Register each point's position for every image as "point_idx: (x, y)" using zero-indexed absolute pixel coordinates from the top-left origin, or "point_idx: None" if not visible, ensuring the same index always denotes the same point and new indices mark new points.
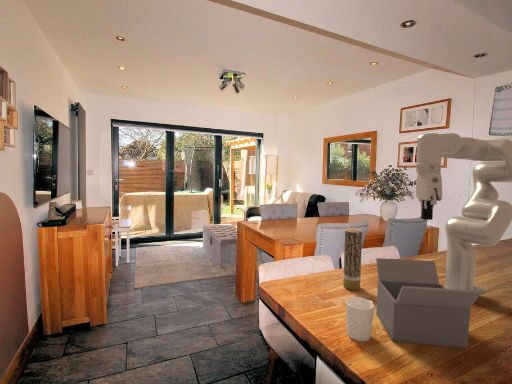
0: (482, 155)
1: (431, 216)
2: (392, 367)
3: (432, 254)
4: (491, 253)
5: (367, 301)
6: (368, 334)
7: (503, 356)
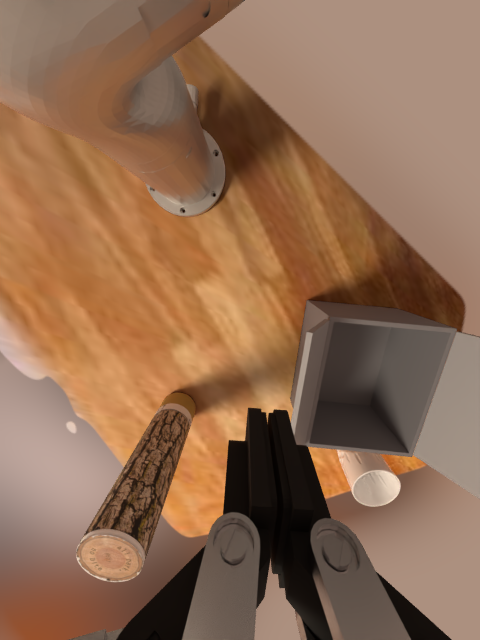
0: None
1: (289, 434)
2: (422, 427)
3: None
4: None
5: (364, 471)
6: None
7: (423, 265)
